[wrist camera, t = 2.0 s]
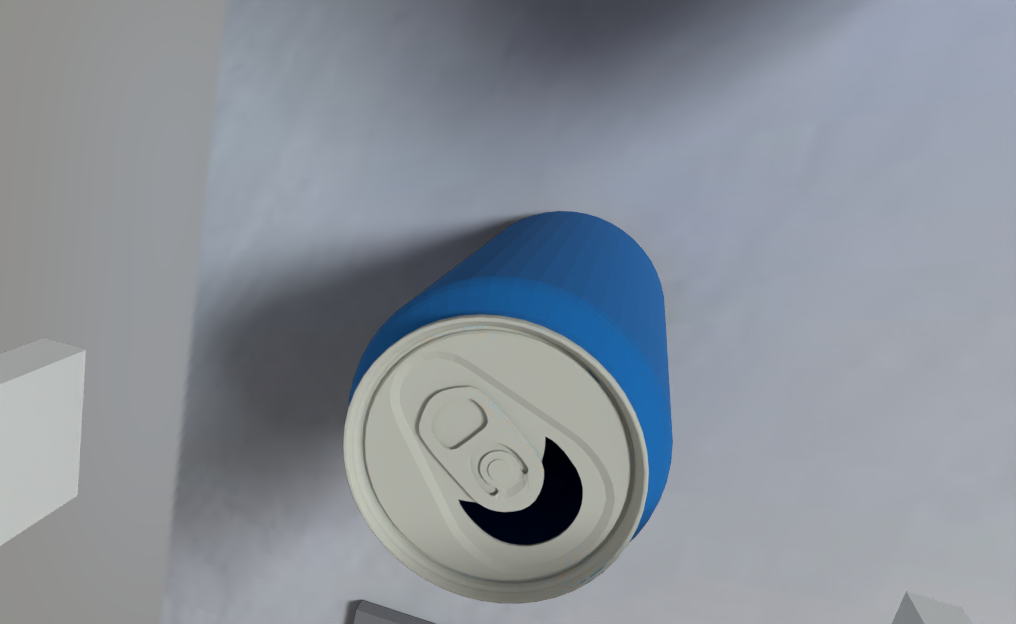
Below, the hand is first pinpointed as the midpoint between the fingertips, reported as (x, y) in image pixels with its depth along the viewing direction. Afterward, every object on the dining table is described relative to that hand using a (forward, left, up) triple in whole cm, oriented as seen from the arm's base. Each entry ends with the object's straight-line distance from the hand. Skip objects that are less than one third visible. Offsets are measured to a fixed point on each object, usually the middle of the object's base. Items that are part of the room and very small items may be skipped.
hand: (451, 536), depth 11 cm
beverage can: (0, 0, -14) cm, 14 cm away
